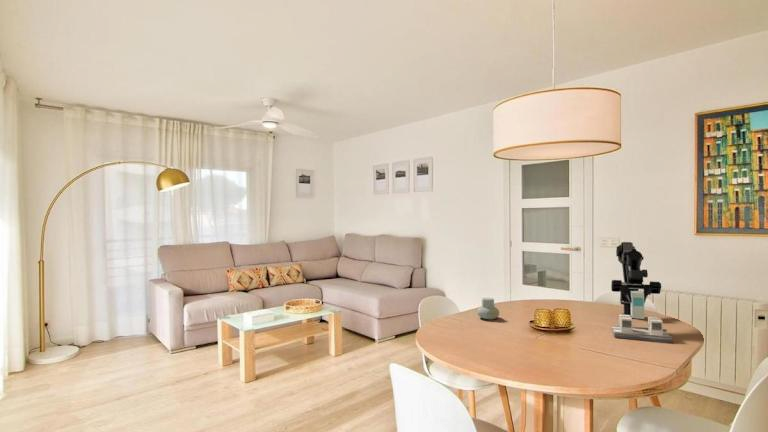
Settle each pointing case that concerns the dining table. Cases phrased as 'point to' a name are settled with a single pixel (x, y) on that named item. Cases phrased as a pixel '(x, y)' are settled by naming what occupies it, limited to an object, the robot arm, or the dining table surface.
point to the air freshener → (488, 309)
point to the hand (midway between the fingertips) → (637, 302)
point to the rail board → (641, 330)
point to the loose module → (637, 304)
